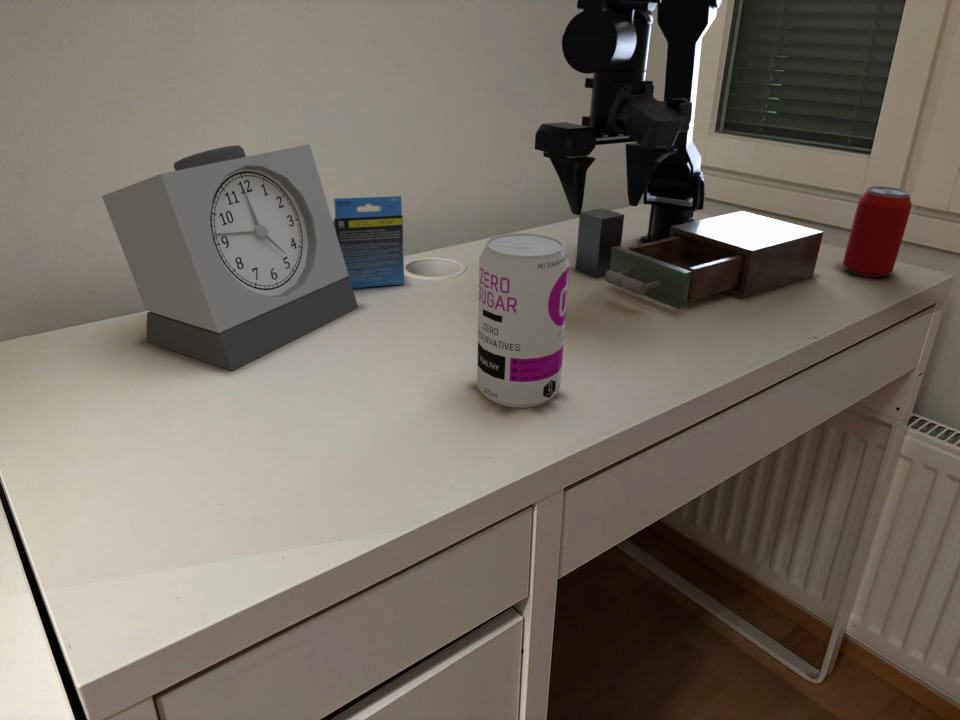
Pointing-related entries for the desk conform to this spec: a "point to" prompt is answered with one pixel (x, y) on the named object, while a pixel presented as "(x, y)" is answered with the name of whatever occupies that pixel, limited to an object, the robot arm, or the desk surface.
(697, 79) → the robot arm
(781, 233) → the cabinet
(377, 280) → the label tape box
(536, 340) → the supplement can
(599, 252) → the steel block
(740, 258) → the rack drawer
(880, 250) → the beverage can
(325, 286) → the alarm clock
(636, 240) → the desk surface
